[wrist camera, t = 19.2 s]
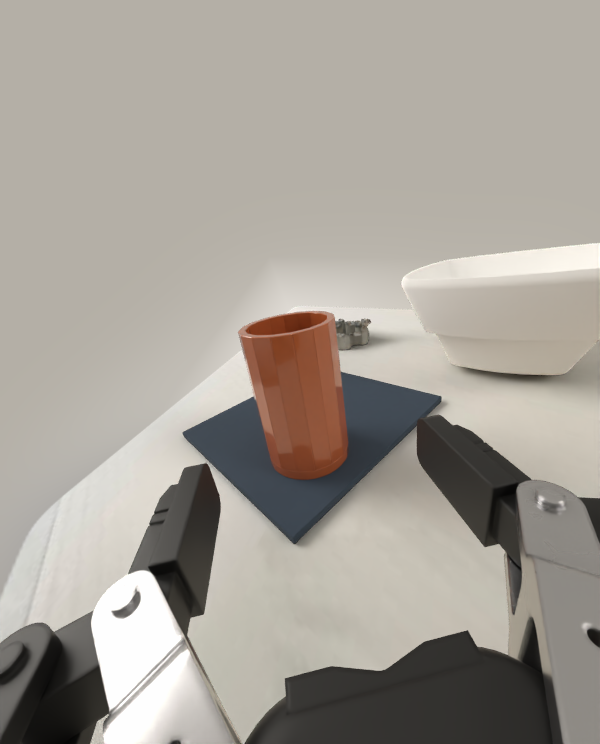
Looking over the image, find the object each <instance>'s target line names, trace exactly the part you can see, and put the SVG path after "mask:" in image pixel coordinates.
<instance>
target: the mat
mask: <svg viewBox="0 0 600 744" xmlns="http://www.w3.org/2000/svg"><path fill="white" fill-rule="evenodd" d="M341 380H342V389H343V398H344V407H345V416H346V426H347V435H348V447H349V451H348V455H347V458H346V460H345V461H344V463H343V464H342V465H341V466H340V467H339V468H338V469H336V470H335V471H333V472H332V473H330V474H328V475H326V476H323V477H320V478H316V479H310V480H297V479H291V478H288V477H285V476H283V475H281V474H280V473H278V472H277V471H276V470H275V469H274V468H273V466H272V464H271V461H270V457H269V454H268V451H267V447H266V443H265V439H264V435H263V431H262V427H261V423H260V419H259V415H258V411H257V407H256V402H255V398H254V397H252V398H250V399H248V400H246V401H244V402H242V403H240V404H238V405H236V406H234V407H232V408H230V409H228V410H226V411H224V412H222V413H220V414H218V415H216V416H214V417H212V418H210V419H208V420H206V421H204V422H202V423H200V424H198V425H196V426H194V427H192V428H190V429H188V430H186V431H184V432H183V435H184V437H185V438H186V439H187V440H188V441H189V442H190V443H191V444H192V445H193V446H194V447H195V448H196V449H197V450H198V451H199V452H200V453H201V454H202V455H203V456H204V457H205V458H206V459H207V460H208V461H209V462H210V463H212V464H213V465H214V466H215V467H216V468H217V469H218V470H219V471H220V472H221V473H222V474H223V475H224V476H225V477H226V478H227V479H228V480H229V481H230V482H231V483H232V484H233V485H234V486H235V487H236V488H237V489H238V490H239V491H240V492H241V493H242V494H243V495H244V496H246V497H247V498H248V499H249V500H250V501H251V502H252V503H253V504H254V505H255V506H256V507H257V508H258V509H259V510H260V511H261V512H262V513H263V514H264V515H265V516H266V517H267V518H268V519H269V520H270V521H271V522H272V523H273V524H274V525H275V526H276V527H277V528H278V529H279V530H281V531H282V532H283V533H284V534H285V535H286V536H287V537H288V538H289V539H290V540H291V541H292V542H293V543H294V544H295V543H296V542H297V541H298V540H299V539H300V538H301V537H302V536H303V535H304V534H305V533H306V532H307V531H308V530H309V529H310V528H311V527H312V526H313V525H315V524H316V523H317V522H318V521H319V520H320V519H321V518H322V517H323V516H324V515H325V514H326V513H327V512H328V511H329V510H330V509H331V508H332V507H333V506H334V505H335V504H336V503H337V502H338V501H339V500H340V499H341V498H342V497H343V496H344V495H345V494H346V493H347V492H348V491H350V490H351V489H352V488H353V487H354V486H355V485H356V484H357V483H358V482H359V481H360V480H361V479H362V478H363V477H364V476H365V475H366V474H367V473H368V472H369V471H370V470H371V469H372V468H373V467H374V466H375V465H376V464H377V463H378V462H379V461H380V460H381V459H382V458H384V457H385V456H386V455H387V454H388V453H389V452H390V451H391V450H392V449H393V448H394V447H395V446H396V445H397V444H398V443H399V442H400V441H401V440H402V439H403V438H404V437H405V436H406V435H407V434H408V433H409V432H410V431H411V430H412V429H413V428H414V427H415V426H416V425H417V421H418V419H420V418H425V417H426V416H427V415H428V414H429V413H430V412H431V411H432V410H433V409H434V408H435V407H436V406H437V405H438V404H439V403H440V402H441V396H437V395H433V394H429V393H425V392H421V391H417V390H413V389H409V388H405V387H400V386H396V385H392V384H388V383H384V382H380V381H376V380H372V379H368V378H364V377H360V376H356V375H351V374H347V373H343V372H341Z"/></svg>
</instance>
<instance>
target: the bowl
mask: <svg viewBox="0 0 600 744" xmlns="http://www.w3.org/2000/svg"><path fill="white" fill-rule="evenodd" d="M401 286H402V289H403V290H404V292H405V294H406V296H407V298H408V300H409V302H410V304H411V306H412V307H413V309H414V311H415V313H416V315H417V317H418V319H419V321H420V323H421V325H422V326H423V328H424V330H425V331H426V332H429V333H435V334H436V335H437V337H438V339H439V341H440V343H441V345H442V347H443V349H444V351H445V353H446V355H447V358H448V360H449V362H450V363H451V364H453V365H457V366H461V367H467V368H472V369H478V370H484V371H491V372H499V373H511V374H531V375H562V374H565V373H567V372H568V371H569V370H570V369H571V368H572V367H573V366H574V365H575V364H576V363H577V362H578V361H579V360H580V359H581V358H582V357H583V356H584V355H585V354H586V353H587V352H588V351H589V350H590V349H591V348H592V347H593V346H594V345H595V344H596V343H597V341H598V340H599V339H600V243H595V244H584V245H573V246H565V247H555V248H545V249H535V250H526V251H517V252H508V253H499V254H491V255H483V256H474V257H466V258H459V259H451V260H445V261H441V262H437V263H433V264H430V265H427V266H424V267H421V268H419V269H416V270H414V271H412V272H410V273H408V274H407V275H405V276H404V277H403V279H402V284H401Z"/></svg>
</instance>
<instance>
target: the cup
mask: <svg viewBox="0 0 600 744" xmlns="http://www.w3.org/2000/svg"><path fill="white" fill-rule="evenodd" d="M238 334H239V338H240V342H241V346H242V350H243V354H244V358H245V362H246V366H247V370H248V374H249V378H250V382H251V386H252V390H253V394H254V398H255V402H256V407H257V411H258V415H259V419H260V423H261V427H262V431H263V435H264V439H265V443H266V447H267V451H268V454H269V457H270V461H271V464H272V466H273V468H274V469H275V470H276V471H277V472H278V473H280V474H281V475H283V476H285V477H288V478H291V479H297V480H310V479H316V478H320V477H323V476H326V475H328V474H330V473H332V472H333V471H335V470H336V469H338V468H339V467H340V466H341V465H342V464H343V463H344V461H345V460H346V458H347V455H348V451H349V447H348V435H347V426H346V416H345V407H344V398H343V389H342V380H341V371H340V361H339V352H338V343H337V334H336V325H335V317H334V314H332V313H328V312H324V311H305V312H295V313H288V314H282V315H277V316H273V317H268V318H265V319H261V320H258V321H255V322H252V323H250V324H248V325H246V326H244V327H242V328H241V329H240V331H239V332H238Z"/></svg>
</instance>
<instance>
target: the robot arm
mask: <svg viewBox="0 0 600 744" xmlns="http://www.w3.org/2000/svg"><path fill="white" fill-rule="evenodd" d="M417 456H418V459H419V462H420V464H421V466H422V468H423V469H424V470H425V472H426V473H427V474H428V475H429V477H430V478H431V479H432V480H433V482H434V483H435V484H436V486H437V487H438V488H439V489H440V491H441V492H442V493H443V494H444V496H445V497H446V498H447V500H448V501H449V502H450V503H451V505H452V506H453V507H454V509H455V510H456V511H457V512H458V514H459V515H460V516H461V517H462V519H463V520H464V521H465V523H466V524H467V525H468V526H469V528H470V529H471V530H472V531H473V533H474V534H475V535H476V537H477V538H478V539H479V540H480V542H481V543H482V544H483V545H484V547H487V546H491V545H496V544H500V545H501V547H502V548H503V549H504V550H505V554H504V564H505V576H506V589H507V602H508V615H509V641H508V655H506V654H503V653H501V652H498V651H495V650H491V649H487V648H483V647H477V646H476V644H475V642H474V641H473V639H472V637H471V635H470V634H469V632H468V630H467V631H464V632H460V633H456V634H452V635H448V636H445V637H441V638H437V639H433V640H429V641H426V642H423V643H422V644H421V645H419V646H418V647H416V648H415V649H414V650H412V651H411V652H410V653H408V654H407V655H405V656H404V657H403V658H401V659H400V660H399V661H397V662H396V663H394V664H393V665H392V666H390V667H389V668H387V669H386V670H383V671H374V670H363V669H353V668H343V667H333V666H331V667H327V668H323V669H319V670H316V671H312V672H308V673H304V674H300V675H297V676H293V677H289V678H285V687H286V697H285V698H283V699H282V700H280V701H279V702H278V703H277V704H276V705H275V706H273V707H272V708H271V709H270V710H269V711H268V712H267V713H266V714H265V716H264V717H263V718H262V719H261V720H260V721H259V723H258V724H257V725H256V727H255V728H254V730H253V731H252V733H251V734H250V736H249V737H248V739H247V740H246V742H245V744H600V499H599V498H579V497H577V496H576V495H574V494H573V493H572V492H570V491H568V490H567V489H565V488H563V487H561V486H558V485H556V484H553V483H550V482H546V481H540V480H531V479H530V478H529V477H528V476H527V475H525V474H524V473H523V472H522V471H520V470H519V469H518V468H517V467H515V466H514V465H513V464H512V463H510V462H509V461H508V460H507V459H505V458H504V457H503V456H502V455H500V454H499V453H498V452H497V451H495V450H493V448H492V447H491V446H489V445H488V444H487V443H486V442H485V443H484V442H483V440H482V439H481V438H479V437H478V436H477V435H476V434H474V433H473V432H472V431H470V430H467V429H465V428H463V427H461V426H459V425H452V424H450V423H449V422H448V421H447V420H446V419H445V418H443V417H442V416H441V415H434V416H430V417H425V418H420V419H418V421H417ZM220 510H221V506H220V497H219V493H218V491H217V488H216V485H215V482H214V479H213V476H212V474H211V471H210V468H209V466H208V464H207V463H205V464H200V465H195V466H191V467H186V468H184V470H183V472H182V475H181V477H180V480H179V483H178V484H176V485H171V486H170V487H169V488H168V490H167V491H166V492H165V493H164V494H163V496H162V497H161V498H160V500H159V502H158V504H157V507H156V509H155V511H154V515H153V516H152V519H151V521H150V523H149V524H150V526H148V528H147V530H146V533H145V535H144V537H143V540H142V542H141V544H140V547H139V549H138V551H137V554H136V556H135V559H134V561H133V563H132V566H131V568H130V570H129V573H128V575H126V576H124V577H123V578H121V579H120V580H118V581H117V582H116V583H115V584H113V585H112V586H111V587H110V588H109V589H108V590H107V591H106V593H105V594H104V595H103V596H102V598H101V599H100V600H99V602H98V604H97V606H96V608H95V610H93V611H92V612H90V613H88V614H87V615H85V616H83V617H81V618H79V619H77V620H75V621H74V622H72V623H70V624H68V625H66V626H64V627H62V628H61V629H59V630H57V631H55V632H53V631H52V630H51V629H50V627H49V626H48V625H46V624H44V623H34V624H31V625H28V626H26V627H24V628H22V629H20V630H18V631H16V632H15V633H13V634H12V635H10V636H9V637H8V638H6V639H5V640H4V641H2V642H1V643H0V744H90V742H91V739H92V736H93V733H94V729H95V726H96V723H97V721H98V720H100V719H101V718H103V717H104V716H106V715H107V714H109V716H108V717H107V718H106V719H105V721H104V724H103V736H104V743H105V744H242V742H241V740H240V738H239V736H238V734H237V732H236V730H235V728H234V727H233V725H232V723H231V721H230V719H229V717H228V715H227V713H226V711H225V709H224V708H223V706H222V704H221V702H220V700H219V698H218V696H217V694H216V692H215V690H214V688H213V686H212V684H211V682H210V680H209V678H208V676H207V674H206V672H205V670H204V668H203V666H202V664H201V662H200V660H199V658H198V656H197V654H196V652H195V650H194V648H193V646H192V644H191V642H190V640H189V638H188V636H187V632H188V627H189V622H190V618H191V617H195V616H200V615H204V610H205V604H206V598H207V592H208V586H209V579H210V573H211V567H212V561H213V555H214V548H215V542H216V536H217V530H218V524H219V517H220Z"/></svg>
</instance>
